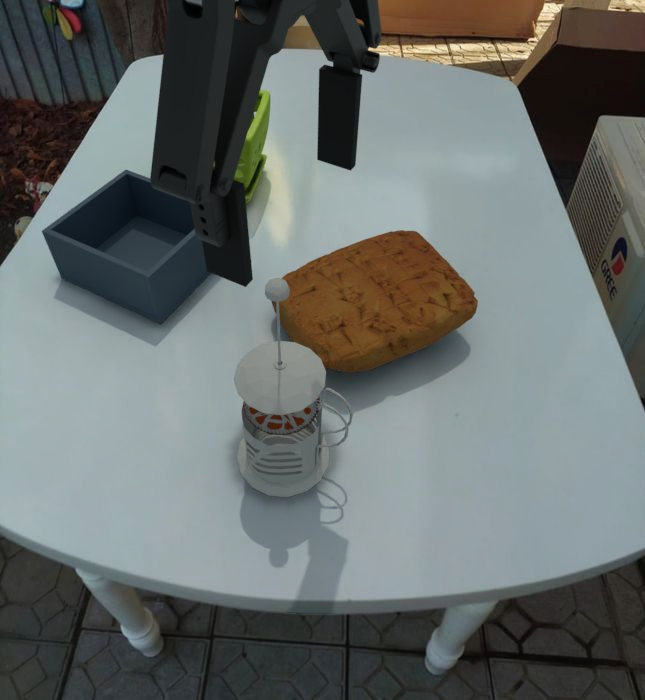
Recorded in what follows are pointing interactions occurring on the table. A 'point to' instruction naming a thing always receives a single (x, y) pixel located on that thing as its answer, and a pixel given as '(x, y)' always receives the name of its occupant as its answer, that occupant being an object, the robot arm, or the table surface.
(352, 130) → the robot arm
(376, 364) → the inscribed clay slab
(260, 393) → the french press
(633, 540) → the table surface
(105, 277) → the tub
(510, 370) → the table surface
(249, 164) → the flower pot
